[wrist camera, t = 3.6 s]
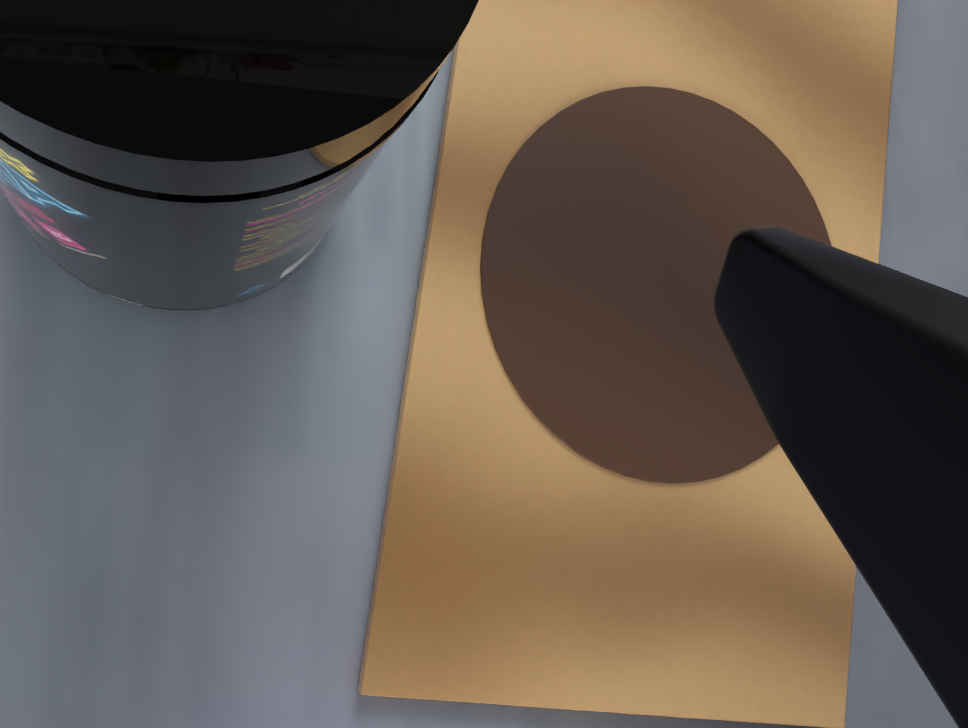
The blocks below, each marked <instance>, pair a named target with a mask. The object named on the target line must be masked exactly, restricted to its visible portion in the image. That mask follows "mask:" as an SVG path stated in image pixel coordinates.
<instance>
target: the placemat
mask: <svg viewBox="0 0 968 728" xmlns="http://www.w3.org/2000/svg"><path fill="white" fill-rule="evenodd" d="M897 5H898V0H479V1H478V3H477V6H476V8H475V10H474V12H473V14H472V17H471V19H470V21H469V23H468V25H467V26H466V28H465V30H464V31H463V33H462V35H461V36H460V38H459V40H458V41H457V43H456V45H455V47H454V54H453V60H452V67H451V74H450V80H449V87H448V94H447V100H446V107H445V114H444V120H443V127H442V134H441V140H440V147H439V154H438V160H437V167H436V173H435V180H434V187H433V193H432V200H431V207H430V213H429V220H428V227H427V233H426V240H425V247H424V253H423V260H422V267H421V273H420V280H419V286H418V293H417V300H416V306H415V313H414V320H413V326H412V333H411V340H410V346H409V353H408V360H407V366H406V373H405V380H404V386H403V393H402V399H401V406H400V413H399V419H398V426H397V433H396V439H395V446H394V453H393V459H392V466H391V473H390V479H389V486H388V493H387V499H386V506H385V513H384V519H383V526H382V532H381V539H380V546H379V552H378V559H377V566H376V572H375V579H374V586H373V592H372V599H371V606H370V612H369V619H368V626H367V632H366V639H365V645H364V652H363V659H362V665H361V672H360V679H359V685H358V691H359V692H360V693H361V694H362V695H370V696H384V697H398V698H412V699H427V700H441V701H455V702H469V703H483V704H497V705H511V706H525V707H539V708H553V709H567V710H581V711H596V712H610V713H624V714H638V715H652V716H666V717H680V718H694V719H708V720H722V721H736V722H751V723H765V724H779V725H793V726H807V727H821V728H844V726H845V712H846V699H847V685H848V671H849V658H850V644H851V631H852V617H853V603H854V590H855V576H856V565H855V563H854V562H853V560H852V559H851V557H850V556H849V554H848V552H847V551H846V549H845V548H844V546H843V545H842V543H841V541H840V540H839V538H838V537H837V535H836V534H835V532H834V530H833V529H832V527H831V526H830V524H829V522H828V521H827V519H826V518H825V516H824V515H823V513H822V511H821V510H820V508H819V507H818V505H817V504H816V502H815V500H814V499H813V497H812V496H811V494H810V493H809V491H808V489H807V488H806V486H805V485H804V483H803V481H802V480H801V478H800V477H799V475H798V474H797V472H796V470H795V469H794V467H793V466H792V464H791V463H790V461H789V459H788V458H787V456H786V455H785V453H784V451H783V450H782V448H781V446H780V445H779V443H778V441H777V440H776V438H775V436H774V434H773V432H772V431H771V429H770V427H769V425H768V423H767V421H766V419H765V417H764V415H763V413H762V411H761V409H760V407H759V405H758V403H757V401H756V399H755V397H754V395H753V393H752V391H751V389H750V387H749V385H748V383H747V381H746V379H745V377H744V375H743V373H742V371H741V369H740V367H739V365H738V363H737V361H736V359H735V357H734V355H733V353H732V351H731V349H730V347H729V345H728V343H727V341H726V339H725V337H724V335H723V333H722V331H721V329H720V327H719V325H718V323H717V320H716V318H715V314H714V308H713V297H714V293H715V289H716V286H717V283H718V280H719V277H720V273H721V270H722V267H723V264H724V260H725V257H726V254H727V251H728V247H729V244H730V242H731V240H732V238H733V237H734V236H735V234H736V233H738V232H739V231H741V230H743V229H749V228H756V227H764V226H779V227H782V228H785V229H787V230H790V231H793V232H795V233H798V234H801V235H803V236H806V237H809V238H811V239H814V240H816V241H819V242H822V243H824V244H827V245H830V246H832V247H835V248H838V249H840V250H843V251H846V252H848V253H851V254H854V255H856V256H859V257H862V258H864V259H867V260H870V261H872V262H875V263H877V264H878V263H879V250H880V236H881V223H882V209H883V195H884V182H885V168H886V155H887V141H888V128H889V114H890V100H891V87H892V73H893V60H894V46H895V32H896V19H897Z"/></svg>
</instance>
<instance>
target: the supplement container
mask: <svg viewBox="0 0 968 728" xmlns="http://www.w3.org/2000/svg"><path fill="white" fill-rule="evenodd" d="M478 1H479V0H0V189H1V190H2V192H3V193H4V195H5V197H6V198H7V200H8V201H9V203H10V205H11V206H12V208H13V209H14V211H15V213H16V214H17V216H18V217H19V219H20V220H21V222H22V224H23V225H24V227H25V228H26V230H27V231H28V233H29V234H30V235H31V237H32V238H33V239H34V240H35V241H36V243H37V244H38V245H39V246H40V248H41V249H42V250H43V251H44V252H45V253H46V254H47V255H48V256H49V257H50V258H51V259H52V260H53V261H54V262H56V263H57V264H58V265H59V266H61V267H62V268H63V269H64V270H65V271H67V272H68V273H69V274H71V275H72V276H74V277H75V278H77V279H78V280H80V281H81V282H83V283H84V284H86V285H88V286H90V287H92V288H94V289H95V290H97V291H99V292H101V293H104V294H106V295H108V296H111V297H113V298H115V299H118V300H121V301H124V302H127V303H131V304H134V305H138V306H143V307H147V308H152V309H160V310H169V311H198V310H209V309H215V308H220V307H225V306H229V305H232V304H236V303H239V302H243V301H245V300H248V299H250V298H252V297H255V296H257V295H259V294H261V293H263V292H265V291H267V290H269V289H271V288H273V287H274V286H276V285H277V284H279V283H280V282H282V281H283V280H285V279H286V278H287V277H289V276H290V275H291V274H292V273H293V272H295V271H296V270H297V269H298V268H299V267H300V266H301V265H302V264H303V263H304V262H305V261H306V260H307V259H308V258H309V257H310V256H311V254H312V253H313V252H314V250H315V249H316V248H317V247H318V245H319V244H320V243H321V241H322V240H323V238H324V236H325V235H326V233H327V232H328V230H329V229H330V227H331V226H332V224H333V223H334V221H335V220H336V218H337V217H338V215H339V214H340V212H341V211H342V209H343V208H344V206H345V205H346V203H347V202H348V200H349V199H350V197H351V196H352V194H353V193H354V191H355V190H356V188H357V187H358V185H359V184H360V182H361V181H362V179H363V178H364V176H365V175H366V173H367V172H368V170H369V169H370V167H371V166H372V164H373V163H374V161H375V160H376V158H377V157H378V155H379V154H380V152H381V151H382V149H383V148H384V146H385V145H386V143H387V142H388V140H389V139H390V137H391V136H392V135H393V134H394V133H395V132H396V131H397V129H398V128H399V127H400V126H401V125H402V124H403V123H404V122H405V121H406V120H407V118H408V117H409V116H410V114H411V113H412V112H413V111H414V109H415V108H416V107H417V105H418V104H419V103H420V101H421V100H422V98H423V97H424V95H425V94H426V92H427V90H428V89H429V87H430V85H431V84H432V82H433V80H434V79H435V77H436V75H437V73H438V71H439V69H440V67H441V66H442V64H443V63H444V61H445V60H446V58H447V57H448V55H449V54H450V52H451V51H452V49H453V48H454V46H455V45H456V43H457V41H458V40H459V38H460V36H461V35H462V33H463V31H464V30H465V28H466V26H467V25H468V23H469V21H470V19H471V17H472V14H473V12H474V10H475V8H476V6H477V3H478Z"/></svg>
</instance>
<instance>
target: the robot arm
mask: <svg viewBox="0 0 968 728" xmlns="http://www.w3.org/2000/svg"><path fill="white" fill-rule="evenodd" d="M713 308H714V314H715V318H716V320H717V323H718V325H719V327H720V329H721V331H722V333H723V335H724V337H725V339H726V341H727V343H728V345H729V347H730V349H731V351H732V353H733V355H734V357H735V359H736V361H737V363H738V365H739V367H740V369H741V371H742V373H743V375H744V377H745V379H746V381H747V383H748V385H749V387H750V389H751V391H752V393H753V395H754V397H755V399H756V401H757V403H758V405H759V407H760V409H761V411H762V413H763V415H764V417H765V419H766V421H767V423H768V425H769V427H770V429H771V431H772V432H773V434H774V436H775V438H776V440H777V441H778V443H779V445H780V446H781V448H782V450H783V451H784V453H785V455H786V456H787V458H788V459H789V461H790V463H791V464H792V466H793V467H794V469H795V470H796V472H797V474H798V475H799V477H800V478H801V480H802V481H803V483H804V485H805V486H806V488H807V489H808V491H809V493H810V494H811V496H812V497H813V499H814V500H815V502H816V504H817V505H818V507H819V508H820V510H821V511H822V513H823V515H824V516H825V518H826V519H827V521H828V522H829V524H830V526H831V527H832V529H833V530H834V532H835V534H836V535H837V537H838V538H839V540H840V541H841V543H842V545H843V546H844V548H845V549H846V551H847V552H848V554H849V556H850V557H851V559H852V560H853V562H854V563H855V565H856V567H857V568H858V570H859V571H860V573H861V575H862V576H863V578H864V579H865V581H866V582H867V584H868V586H869V587H870V589H871V590H872V592H873V593H874V595H875V597H876V598H877V600H878V601H879V603H880V604H881V606H882V608H883V609H884V611H885V612H886V614H887V616H888V617H889V619H890V620H891V622H892V623H893V625H894V627H895V628H896V630H897V631H898V633H899V634H900V636H901V638H902V639H903V641H904V642H905V644H906V645H907V647H908V649H909V650H910V652H911V653H912V655H913V657H914V658H915V660H916V661H917V663H918V664H919V666H920V668H921V669H922V671H923V672H924V674H925V675H926V677H927V679H928V680H929V682H930V683H931V685H932V687H933V688H934V690H935V691H936V693H937V694H938V696H939V698H940V699H941V701H942V702H943V704H944V705H945V707H946V709H947V710H948V712H949V713H950V715H951V716H952V718H953V720H954V721H955V723H956V724H957V726H958V728H968V297H965V296H962V295H960V294H957V293H954V292H952V291H949V290H946V289H944V288H941V287H938V286H936V285H933V284H931V283H928V282H925V281H923V280H920V279H917V278H915V277H912V276H909V275H907V274H904V273H901V272H899V271H896V270H893V269H891V268H888V267H885V266H883V265H880V264H877V263H875V262H872V261H870V260H867V259H864V258H862V257H859V256H856V255H854V254H851V253H848V252H846V251H843V250H840V249H838V248H835V247H832V246H830V245H827V244H824V243H822V242H819V241H816V240H814V239H811V238H809V237H806V236H803V235H801V234H798V233H795V232H793V231H790V230H787V229H785V228H782V227H779V226H764V227H756V228H749V229H743V230H741V231H739V232H738V233H736V234H735V236H734V237H733V238H732V240H731V242H730V244H729V247H728V251H727V254H726V257H725V260H724V264H723V267H722V270H721V273H720V277H719V280H718V283H717V286H716V289H715V293H714V297H713Z"/></svg>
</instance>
